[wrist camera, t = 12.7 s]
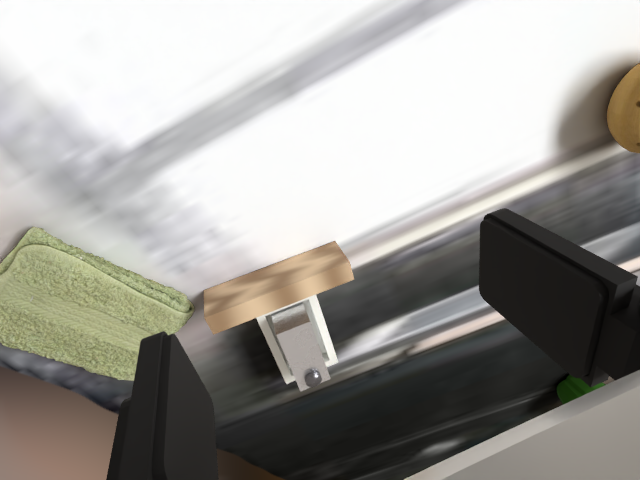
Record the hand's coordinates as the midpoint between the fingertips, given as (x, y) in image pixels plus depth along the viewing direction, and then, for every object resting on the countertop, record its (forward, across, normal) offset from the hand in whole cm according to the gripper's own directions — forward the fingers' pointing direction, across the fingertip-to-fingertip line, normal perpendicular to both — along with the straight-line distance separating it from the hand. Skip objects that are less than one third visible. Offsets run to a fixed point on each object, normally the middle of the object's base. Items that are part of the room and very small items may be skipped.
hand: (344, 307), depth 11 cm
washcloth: (+30, +20, +14) cm, 39 cm away
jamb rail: (+29, +1, +17) cm, 33 cm away
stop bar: (+28, +1, +26) cm, 39 cm away
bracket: (+29, +1, +27) cm, 39 cm away
